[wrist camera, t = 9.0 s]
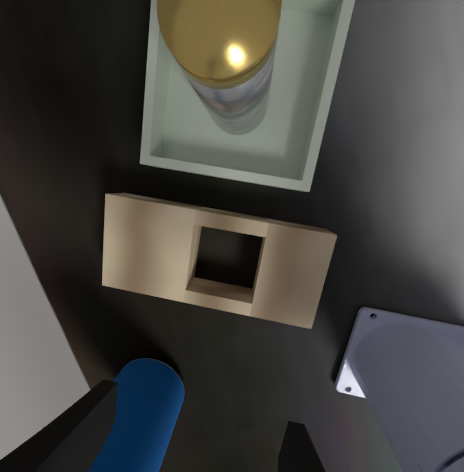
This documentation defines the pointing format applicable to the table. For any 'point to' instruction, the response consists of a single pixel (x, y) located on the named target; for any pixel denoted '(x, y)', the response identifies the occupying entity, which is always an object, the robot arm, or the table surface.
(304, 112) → the tray
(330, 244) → the wooden block with hole
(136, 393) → the beverage can
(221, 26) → the white and gold cylinder
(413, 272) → the table surface
